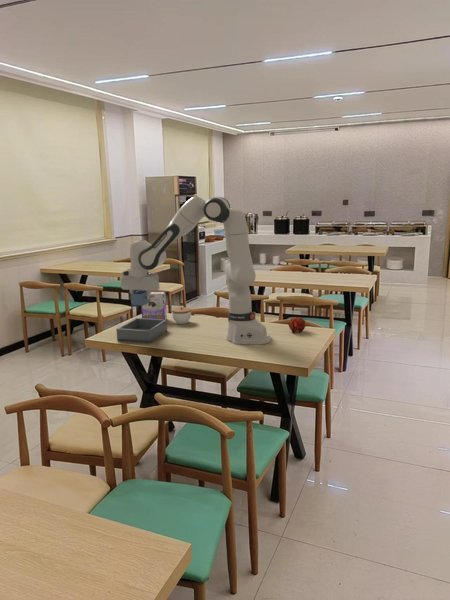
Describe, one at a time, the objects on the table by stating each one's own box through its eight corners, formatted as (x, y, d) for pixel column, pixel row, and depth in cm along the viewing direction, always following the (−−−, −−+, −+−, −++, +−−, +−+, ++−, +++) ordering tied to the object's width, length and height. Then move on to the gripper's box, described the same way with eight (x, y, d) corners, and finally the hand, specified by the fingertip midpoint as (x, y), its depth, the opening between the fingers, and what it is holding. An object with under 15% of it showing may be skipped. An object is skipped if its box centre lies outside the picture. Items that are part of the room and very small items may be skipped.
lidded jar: (171, 320, 273) (171, 305, 270) (190, 319, 274) (189, 304, 272) (173, 325, 262) (172, 309, 260) (192, 324, 264) (191, 308, 262)
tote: (150, 301, 245) (150, 290, 244) (142, 306, 236) (141, 294, 234) (140, 301, 247) (139, 290, 245) (131, 305, 237) (130, 293, 236)
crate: (167, 330, 253) (166, 319, 252) (149, 342, 232) (149, 331, 231) (136, 328, 258) (136, 317, 257) (117, 340, 237) (116, 328, 236)
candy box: (167, 318, 277) (165, 291, 274) (164, 321, 272) (163, 293, 268) (144, 318, 279) (142, 291, 275) (141, 321, 273) (140, 293, 269)
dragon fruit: (301, 331, 253) (295, 340, 243) (288, 321, 254) (282, 330, 244) (310, 320, 249) (304, 329, 238) (297, 310, 250) (291, 319, 239)
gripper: (161, 271, 238) (162, 298, 241) (124, 270, 243) (125, 296, 246) (155, 273, 232) (156, 301, 235) (118, 272, 237) (120, 298, 240)
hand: (140, 298), depth 241 cm, fingers closed on tote, 6 cm apart
